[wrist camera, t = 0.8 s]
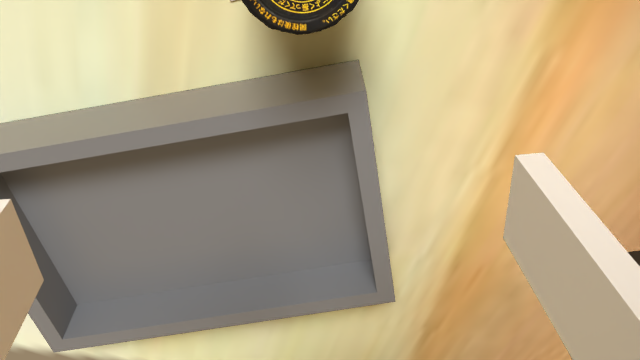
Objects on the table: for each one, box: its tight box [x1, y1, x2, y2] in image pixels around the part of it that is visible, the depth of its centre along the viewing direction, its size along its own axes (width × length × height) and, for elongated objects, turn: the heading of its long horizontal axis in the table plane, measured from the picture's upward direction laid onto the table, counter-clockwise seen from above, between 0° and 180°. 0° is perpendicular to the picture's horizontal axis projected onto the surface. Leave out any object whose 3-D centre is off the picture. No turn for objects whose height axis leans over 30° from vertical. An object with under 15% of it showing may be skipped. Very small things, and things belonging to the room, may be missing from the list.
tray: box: [0, 60, 395, 352], centre depth 40 cm, size 26×17×4 cm, turn 100°
